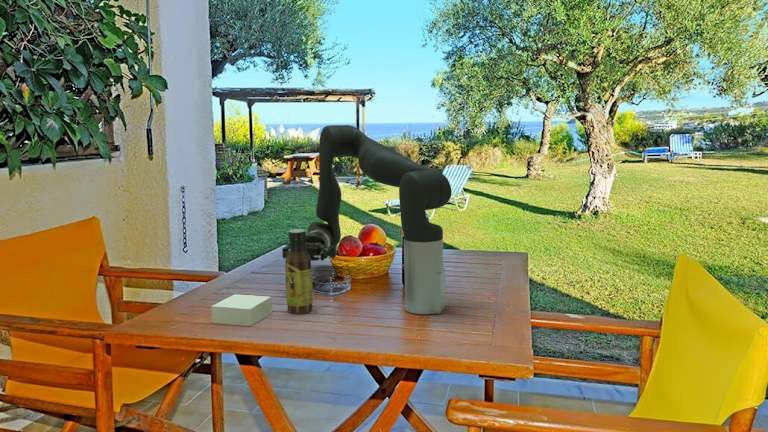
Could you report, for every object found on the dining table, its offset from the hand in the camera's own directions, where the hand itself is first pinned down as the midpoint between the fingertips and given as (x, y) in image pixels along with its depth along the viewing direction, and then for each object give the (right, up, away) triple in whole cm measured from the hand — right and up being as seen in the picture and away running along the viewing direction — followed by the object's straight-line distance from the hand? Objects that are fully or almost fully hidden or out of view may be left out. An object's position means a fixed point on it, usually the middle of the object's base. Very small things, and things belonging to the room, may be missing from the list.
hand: (305, 256), depth 151 cm
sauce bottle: (0, -13, -9) cm, 15 cm away
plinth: (-13, -13, -13) cm, 23 cm away
